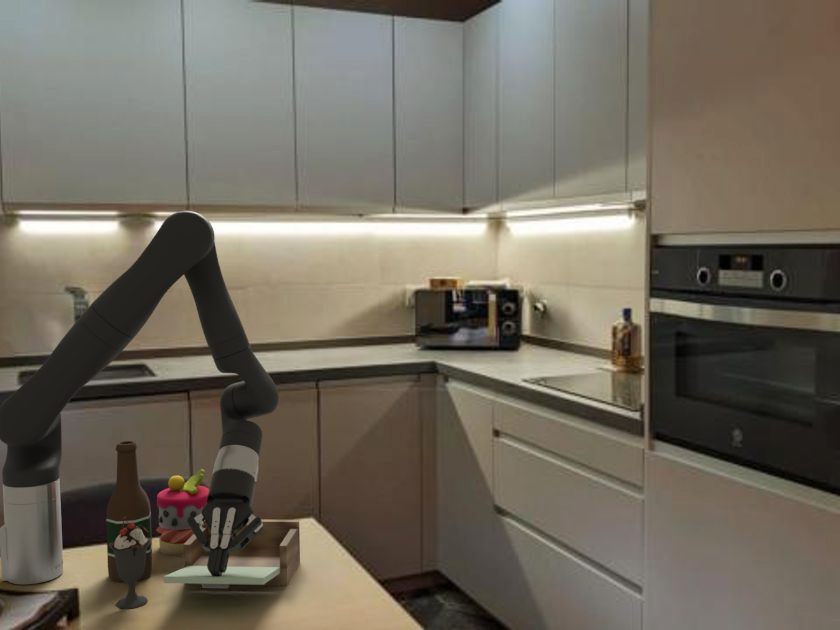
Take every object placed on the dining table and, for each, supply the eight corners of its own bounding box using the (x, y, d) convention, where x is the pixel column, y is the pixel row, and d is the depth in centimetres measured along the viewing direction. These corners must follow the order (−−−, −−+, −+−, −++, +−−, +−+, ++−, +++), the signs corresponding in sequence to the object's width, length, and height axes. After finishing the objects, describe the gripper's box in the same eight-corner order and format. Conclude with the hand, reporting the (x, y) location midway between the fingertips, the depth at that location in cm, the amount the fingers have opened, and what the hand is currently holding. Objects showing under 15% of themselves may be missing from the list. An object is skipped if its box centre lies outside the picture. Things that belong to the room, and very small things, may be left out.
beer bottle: (139, 584, 151) (135, 448, 150) (98, 581, 153) (93, 446, 151) (161, 568, 159) (157, 438, 157) (122, 565, 161) (118, 437, 159)
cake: (165, 560, 164) (163, 481, 162) (152, 543, 173) (149, 469, 171) (220, 550, 169) (218, 473, 168) (204, 534, 178) (202, 462, 177)
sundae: (114, 614, 139) (111, 522, 138) (108, 599, 145) (104, 510, 144) (156, 606, 142) (153, 515, 141) (148, 591, 148) (146, 505, 147)
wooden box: (184, 583, 152) (183, 538, 151) (204, 560, 163) (203, 518, 162) (287, 585, 151) (286, 540, 150) (300, 562, 162) (299, 519, 161)
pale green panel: (188, 576, 151) (163, 588, 139) (189, 565, 151) (164, 576, 139) (280, 577, 150) (263, 589, 138) (280, 566, 150) (263, 577, 138)
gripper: (190, 466, 148) (168, 563, 137) (268, 466, 147) (252, 564, 136) (201, 488, 153) (180, 583, 142) (276, 489, 153) (261, 584, 141)
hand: (215, 574), depth 139 cm, fingers closed
